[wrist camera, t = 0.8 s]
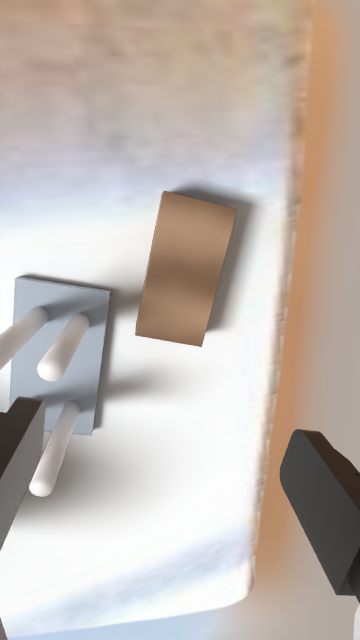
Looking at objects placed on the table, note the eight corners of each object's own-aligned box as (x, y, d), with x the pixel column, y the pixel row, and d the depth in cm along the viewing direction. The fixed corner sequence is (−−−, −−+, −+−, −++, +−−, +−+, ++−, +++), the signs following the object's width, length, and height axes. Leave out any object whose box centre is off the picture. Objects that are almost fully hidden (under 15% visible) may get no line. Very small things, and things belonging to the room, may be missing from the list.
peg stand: (19, 276, 29) (-53, 308, 18) (110, 290, 30) (92, 328, 20) (12, 422, 33) (-50, 516, 22) (93, 429, 34) (70, 522, 24)
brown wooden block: (161, 194, 28) (164, 190, 25) (226, 210, 29) (237, 209, 26) (136, 323, 32) (135, 335, 28) (195, 333, 32) (201, 346, 29)
